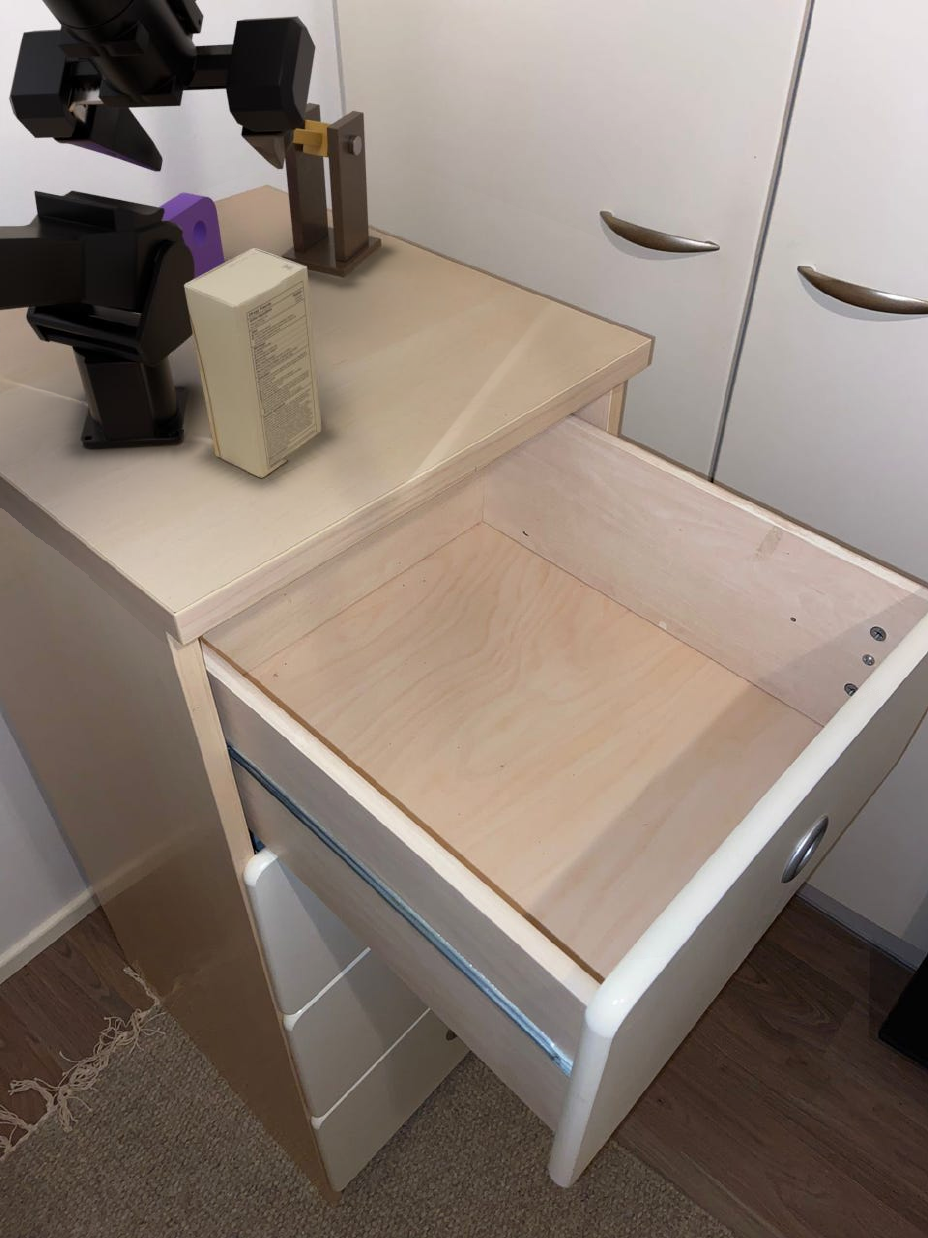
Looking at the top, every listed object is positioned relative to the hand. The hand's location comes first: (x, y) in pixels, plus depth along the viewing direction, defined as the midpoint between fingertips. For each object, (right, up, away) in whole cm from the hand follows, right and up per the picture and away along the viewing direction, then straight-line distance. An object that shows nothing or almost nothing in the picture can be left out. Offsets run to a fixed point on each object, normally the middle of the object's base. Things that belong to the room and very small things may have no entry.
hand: (219, 163), depth 68 cm
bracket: (-10, -3, +15) cm, 18 cm away
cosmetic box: (+4, -20, -3) cm, 21 cm away
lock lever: (+4, +4, +8) cm, 10 cm away
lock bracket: (+6, 0, +17) cm, 18 cm away
